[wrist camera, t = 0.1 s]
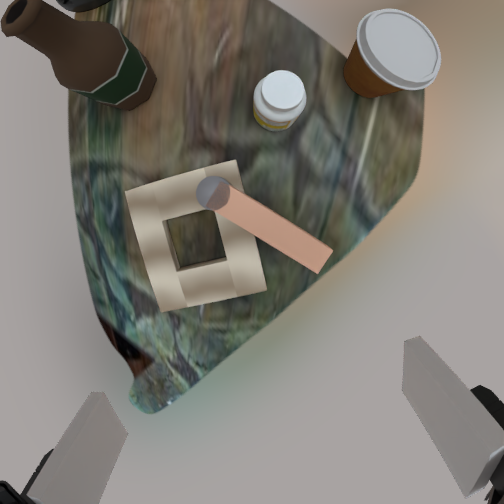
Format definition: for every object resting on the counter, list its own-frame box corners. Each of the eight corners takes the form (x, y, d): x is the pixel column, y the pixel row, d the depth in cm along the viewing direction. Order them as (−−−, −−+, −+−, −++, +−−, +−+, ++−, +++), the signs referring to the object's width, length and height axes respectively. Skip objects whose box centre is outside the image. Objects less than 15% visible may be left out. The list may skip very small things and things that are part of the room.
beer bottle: (158, 106, 34) (48, 32, 11) (104, 117, 35) (-29, 76, 11) (158, 53, 33) (69, -49, 9) (105, 66, 33) (-8, -5, 9)
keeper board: (130, 190, 37) (91, 196, 27) (236, 160, 36) (230, 153, 26) (164, 306, 40) (140, 344, 30) (266, 284, 40) (270, 320, 30)
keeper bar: (193, 197, 27) (189, 199, 25) (210, 170, 26) (207, 169, 24) (312, 269, 28) (316, 275, 26) (329, 244, 27) (334, 248, 26)
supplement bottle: (269, 139, 36) (274, 127, 26) (244, 104, 35) (241, 81, 25) (305, 117, 35) (322, 99, 26) (281, 83, 34) (290, 54, 24)
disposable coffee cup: (360, 122, 35) (402, 102, 23) (316, 62, 33) (340, 20, 21) (410, 91, 34) (459, 69, 22) (369, 35, 32) (405, -4, 20)
